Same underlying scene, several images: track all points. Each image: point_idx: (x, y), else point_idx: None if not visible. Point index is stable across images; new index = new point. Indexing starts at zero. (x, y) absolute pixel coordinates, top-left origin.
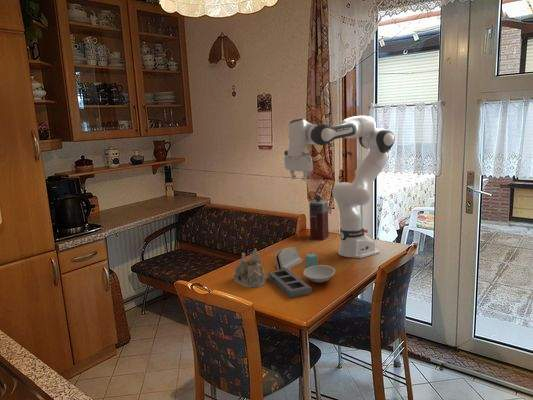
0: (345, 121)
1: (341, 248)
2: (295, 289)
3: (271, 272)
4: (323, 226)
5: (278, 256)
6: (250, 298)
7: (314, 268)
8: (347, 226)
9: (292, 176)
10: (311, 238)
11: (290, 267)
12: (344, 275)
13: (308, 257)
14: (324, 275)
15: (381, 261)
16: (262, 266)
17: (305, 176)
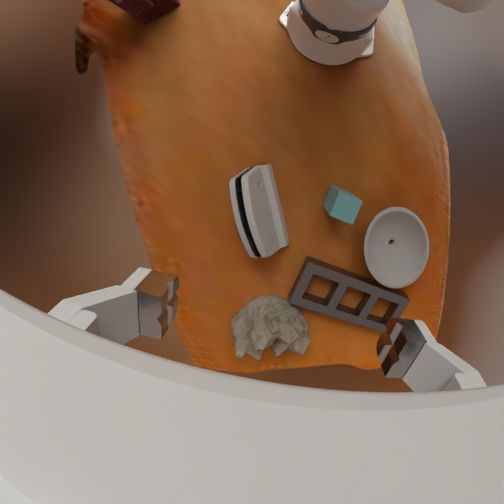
0: None
1: (320, 52)
2: None
3: (297, 299)
4: None
5: (264, 257)
6: (329, 362)
7: (371, 231)
8: (359, 25)
9: (149, 328)
10: (146, 22)
11: (284, 222)
12: (412, 178)
13: (346, 221)
14: (393, 224)
15: (416, 52)
16: (300, 336)
17: (435, 370)
